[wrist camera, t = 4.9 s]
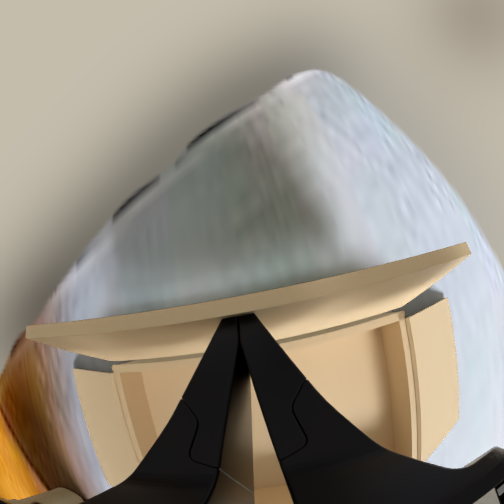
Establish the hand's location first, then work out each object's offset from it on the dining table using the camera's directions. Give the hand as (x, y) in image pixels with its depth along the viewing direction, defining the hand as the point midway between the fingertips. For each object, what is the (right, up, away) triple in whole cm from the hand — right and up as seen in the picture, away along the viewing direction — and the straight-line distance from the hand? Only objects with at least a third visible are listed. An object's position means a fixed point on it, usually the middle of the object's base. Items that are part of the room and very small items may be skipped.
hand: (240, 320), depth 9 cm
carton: (+2, -11, +7) cm, 14 cm away
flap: (+1, -2, +6) cm, 6 cm away
